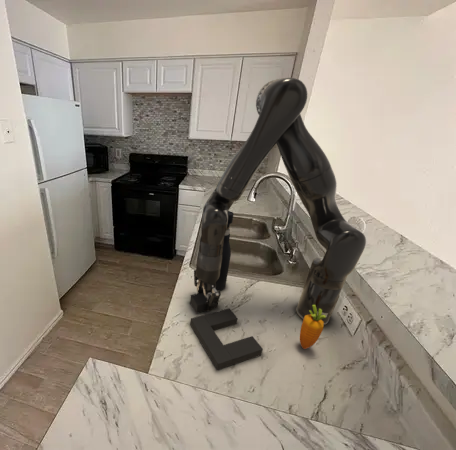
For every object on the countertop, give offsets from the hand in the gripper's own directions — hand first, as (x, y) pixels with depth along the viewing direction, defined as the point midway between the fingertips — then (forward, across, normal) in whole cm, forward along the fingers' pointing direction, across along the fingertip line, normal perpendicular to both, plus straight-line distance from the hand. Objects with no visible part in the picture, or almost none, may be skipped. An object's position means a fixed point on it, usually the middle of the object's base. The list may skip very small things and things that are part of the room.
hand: (203, 304), depth 87 cm
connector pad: (0, 0, 0) cm, 0 cm away
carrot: (+1, -24, -19) cm, 31 cm away
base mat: (0, -14, +1) cm, 14 cm away
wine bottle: (+1, +8, -10) cm, 13 cm away
